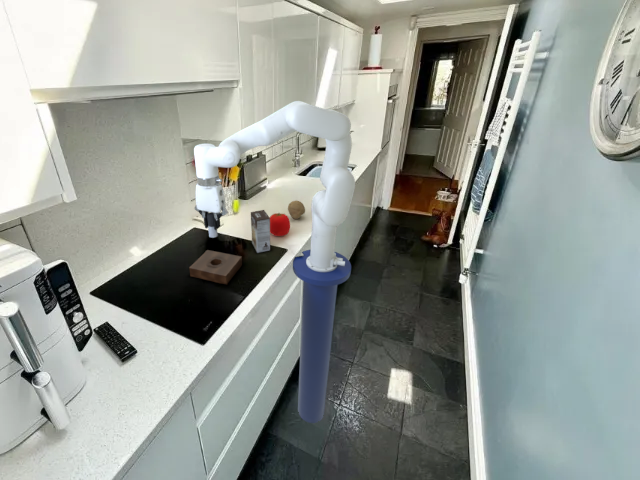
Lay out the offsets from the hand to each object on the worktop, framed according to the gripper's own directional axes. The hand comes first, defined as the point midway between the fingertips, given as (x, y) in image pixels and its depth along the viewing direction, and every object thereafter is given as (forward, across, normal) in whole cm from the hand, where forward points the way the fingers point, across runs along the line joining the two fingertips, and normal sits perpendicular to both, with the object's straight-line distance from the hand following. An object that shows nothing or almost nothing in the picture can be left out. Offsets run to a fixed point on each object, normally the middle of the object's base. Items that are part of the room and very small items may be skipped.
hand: (212, 227), depth 115 cm
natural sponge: (+19, -17, -57) cm, 62 cm away
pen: (+4, 0, 0) cm, 4 cm away
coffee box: (+19, -10, -23) cm, 32 cm away
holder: (+19, 0, 0) cm, 19 cm away
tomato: (+19, -14, -37) cm, 44 cm away
